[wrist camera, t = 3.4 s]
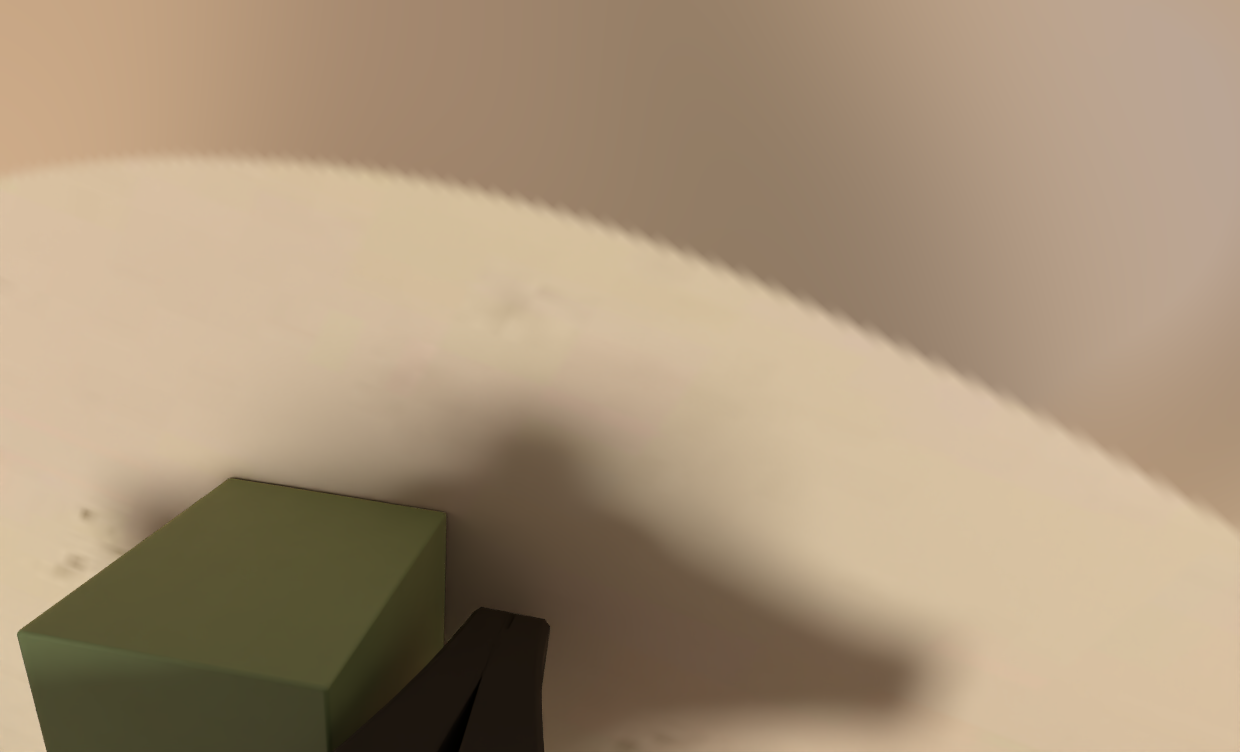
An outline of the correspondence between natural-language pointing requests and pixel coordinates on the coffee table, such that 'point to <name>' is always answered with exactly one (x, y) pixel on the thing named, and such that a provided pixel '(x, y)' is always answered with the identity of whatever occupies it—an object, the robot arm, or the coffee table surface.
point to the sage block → (243, 627)
